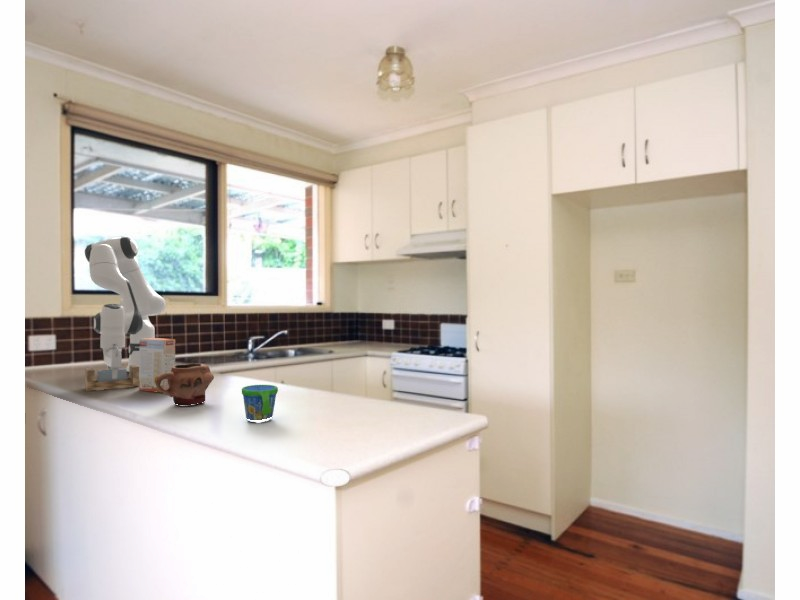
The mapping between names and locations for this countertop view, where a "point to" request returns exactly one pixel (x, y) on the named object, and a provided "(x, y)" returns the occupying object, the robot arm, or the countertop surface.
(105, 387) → the track frame
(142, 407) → the countertop surface
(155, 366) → the cracker box
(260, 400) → the snack cup
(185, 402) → the brown mug
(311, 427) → the countertop surface
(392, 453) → the countertop surface
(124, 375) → the door panel
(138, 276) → the robot arm
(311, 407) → the countertop surface
